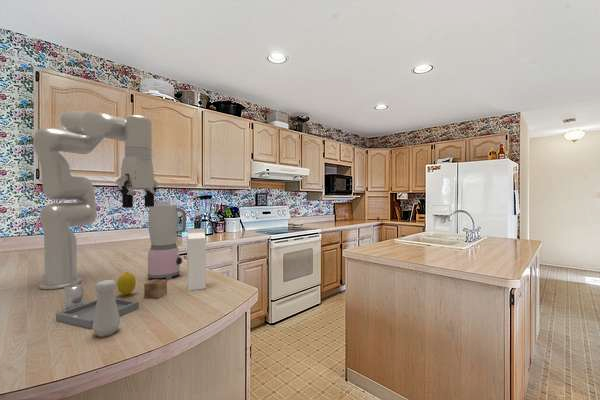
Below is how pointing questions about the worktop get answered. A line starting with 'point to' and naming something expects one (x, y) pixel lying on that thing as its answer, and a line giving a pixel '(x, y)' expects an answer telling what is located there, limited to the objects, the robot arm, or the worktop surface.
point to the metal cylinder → (73, 296)
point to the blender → (164, 240)
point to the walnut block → (155, 289)
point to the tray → (92, 312)
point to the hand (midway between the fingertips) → (139, 207)
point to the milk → (196, 259)
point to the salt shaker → (106, 309)
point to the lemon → (126, 283)
